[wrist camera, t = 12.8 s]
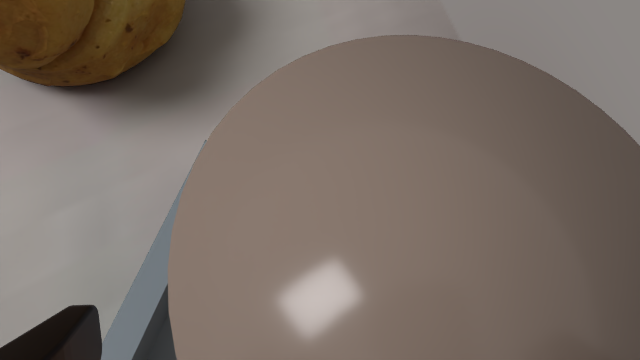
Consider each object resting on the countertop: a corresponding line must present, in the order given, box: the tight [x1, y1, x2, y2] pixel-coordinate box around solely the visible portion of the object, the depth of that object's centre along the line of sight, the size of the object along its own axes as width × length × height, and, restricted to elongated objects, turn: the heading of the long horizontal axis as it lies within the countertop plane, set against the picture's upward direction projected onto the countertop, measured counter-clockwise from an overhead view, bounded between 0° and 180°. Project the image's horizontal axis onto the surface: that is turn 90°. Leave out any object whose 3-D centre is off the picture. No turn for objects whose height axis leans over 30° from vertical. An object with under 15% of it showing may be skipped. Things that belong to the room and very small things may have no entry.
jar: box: [168, 35, 640, 360], centre depth 10 cm, size 5×5×13 cm
